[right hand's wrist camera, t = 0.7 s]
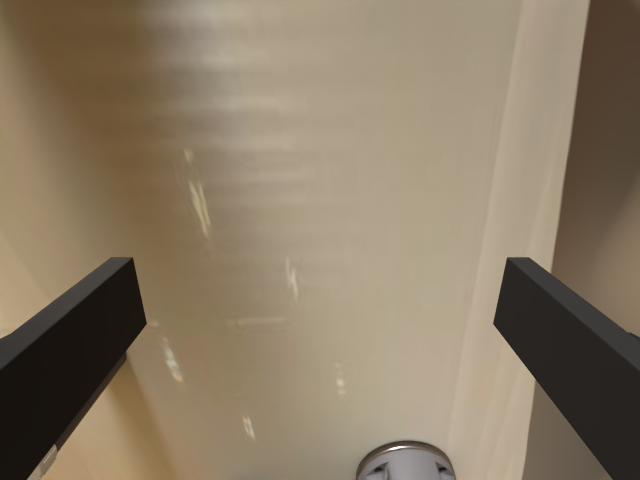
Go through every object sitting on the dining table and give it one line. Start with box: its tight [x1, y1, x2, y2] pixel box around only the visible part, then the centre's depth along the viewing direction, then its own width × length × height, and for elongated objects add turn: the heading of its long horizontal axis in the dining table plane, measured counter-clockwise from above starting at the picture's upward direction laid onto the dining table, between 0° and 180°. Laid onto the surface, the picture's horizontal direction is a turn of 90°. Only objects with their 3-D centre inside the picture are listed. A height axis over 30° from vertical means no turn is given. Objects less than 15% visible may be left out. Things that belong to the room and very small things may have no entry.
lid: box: [27, 444, 58, 480], centre depth 34 cm, size 5×5×2 cm
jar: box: [55, 353, 126, 453], centre depth 41 cm, size 5×5×16 cm
